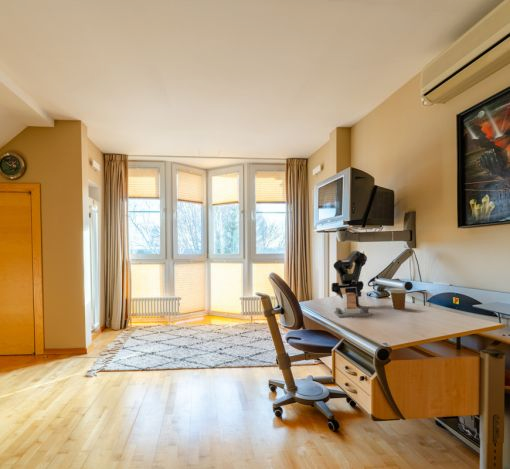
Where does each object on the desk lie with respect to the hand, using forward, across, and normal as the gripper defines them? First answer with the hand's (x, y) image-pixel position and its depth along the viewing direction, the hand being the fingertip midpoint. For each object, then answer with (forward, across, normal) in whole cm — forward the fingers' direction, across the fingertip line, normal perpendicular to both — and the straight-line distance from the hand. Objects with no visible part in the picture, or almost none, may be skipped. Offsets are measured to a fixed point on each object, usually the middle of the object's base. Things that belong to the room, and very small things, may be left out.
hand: (350, 297), depth 211 cm
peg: (+8, 0, +4) cm, 9 cm away
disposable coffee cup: (+2, +30, +11) cm, 33 cm away
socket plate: (+9, 0, +4) cm, 10 cm away
